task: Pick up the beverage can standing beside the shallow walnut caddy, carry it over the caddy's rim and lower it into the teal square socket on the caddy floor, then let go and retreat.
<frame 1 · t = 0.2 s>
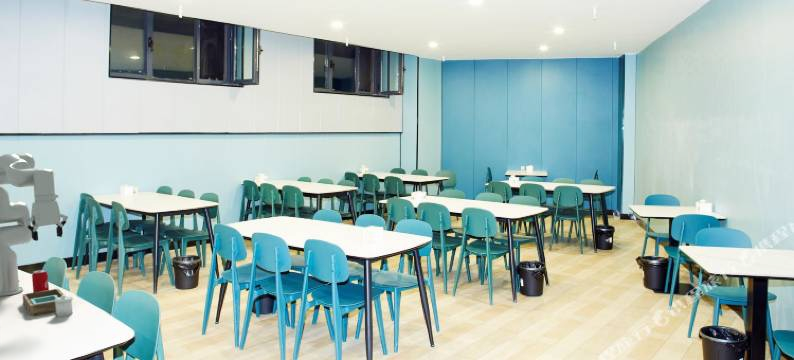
hand: (47, 238, 253), 31 cm above the table, tool pointing down, fingers open, 9 cm apart
sugar pot: (64, 314, 248), on the table
socket: (45, 302, 258), in the caddy, point 2 cm above the table
beverage can: (41, 297, 274), on the table
caddy: (45, 306, 258), on the table
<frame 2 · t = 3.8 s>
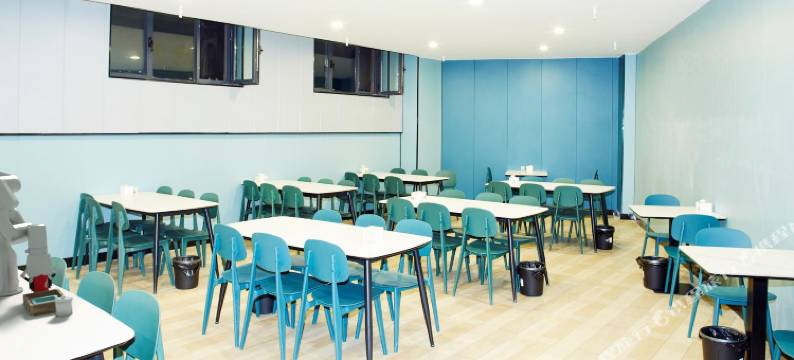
hand: (41, 288, 274), 4 cm above the table, tool pointing down, fingers closed on beverage can, 6 cm apart
beverage can: (41, 297, 274), on the table, touching gripper
everything else where it was.
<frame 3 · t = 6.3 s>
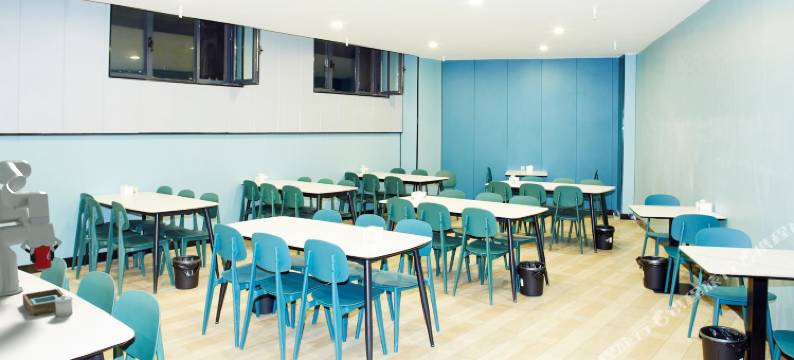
hand: (42, 261, 257), 20 cm above the table, tool pointing down, fingers closed on beverage can, 6 cm apart
beverage can: (43, 269, 258), point 16 cm above the table, touching gripper
everything else where it was.
when the fingers open (6 cm above the table, at t = 9.2 s): beverage can drops 1 cm, resting on caddy.
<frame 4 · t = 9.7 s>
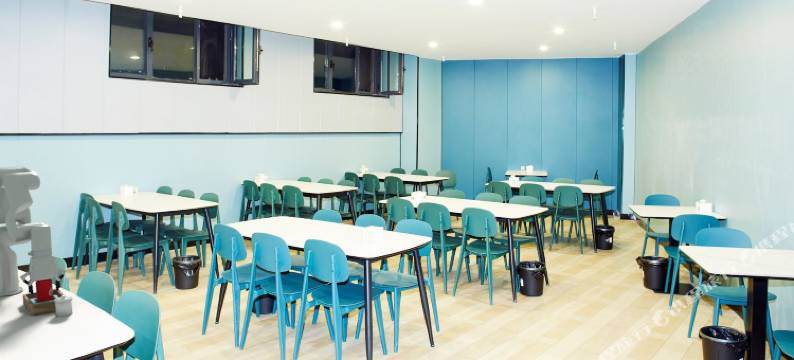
hand: (44, 292, 258), 7 cm above the table, tool pointing down, fingers open, 9 cm apart
beverage can: (45, 305, 259), point 1 cm above the table, touching caddy
everything else where it was.
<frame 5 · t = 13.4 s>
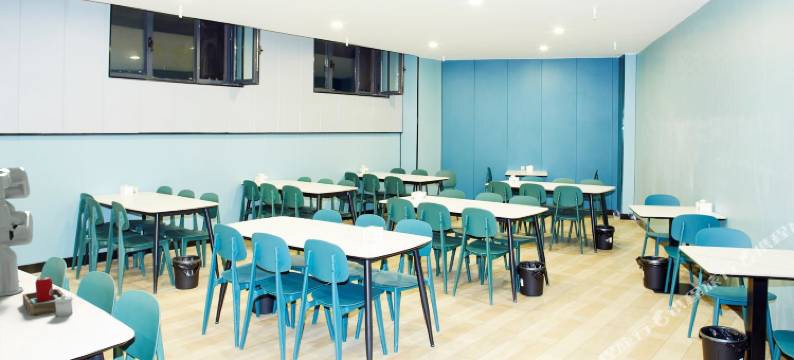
nothing on the table moved.
at the end: beverage can 0.2 cm from the socket (horizontally); beverage can tilted 0°; beverage can point 0.6 cm above the table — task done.
